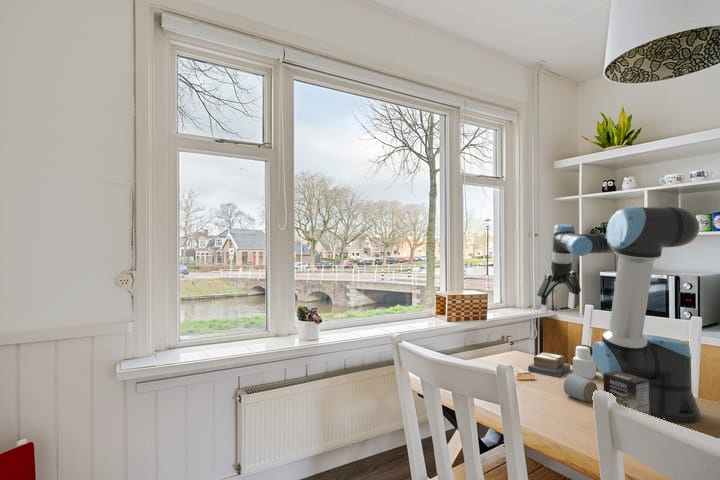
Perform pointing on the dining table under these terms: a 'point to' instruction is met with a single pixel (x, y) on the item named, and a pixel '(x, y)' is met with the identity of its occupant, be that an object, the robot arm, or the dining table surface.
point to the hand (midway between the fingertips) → (558, 310)
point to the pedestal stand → (549, 364)
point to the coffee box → (628, 390)
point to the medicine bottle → (584, 362)
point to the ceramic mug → (579, 387)
